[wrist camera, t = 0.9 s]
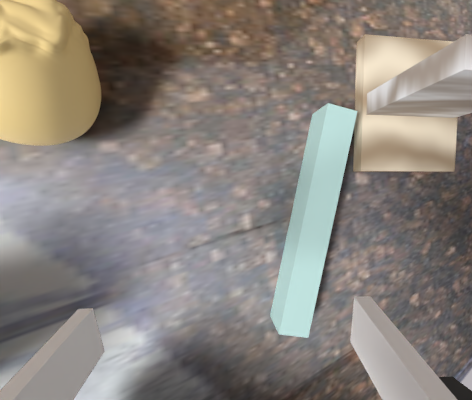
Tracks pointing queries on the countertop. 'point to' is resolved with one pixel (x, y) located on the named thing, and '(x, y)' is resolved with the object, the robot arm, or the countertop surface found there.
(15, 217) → the countertop surface
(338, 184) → the beam
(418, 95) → the balance stand
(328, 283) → the countertop surface
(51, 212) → the countertop surface
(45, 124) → the sculpture
